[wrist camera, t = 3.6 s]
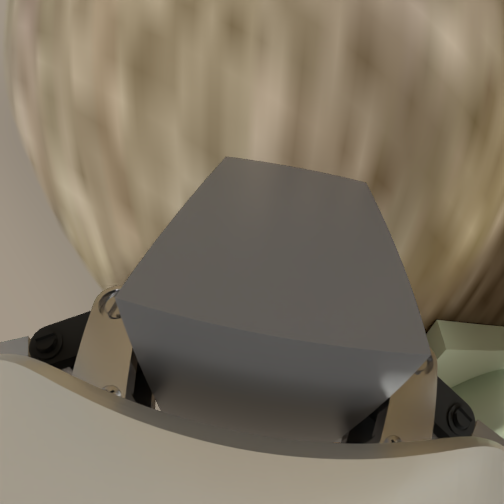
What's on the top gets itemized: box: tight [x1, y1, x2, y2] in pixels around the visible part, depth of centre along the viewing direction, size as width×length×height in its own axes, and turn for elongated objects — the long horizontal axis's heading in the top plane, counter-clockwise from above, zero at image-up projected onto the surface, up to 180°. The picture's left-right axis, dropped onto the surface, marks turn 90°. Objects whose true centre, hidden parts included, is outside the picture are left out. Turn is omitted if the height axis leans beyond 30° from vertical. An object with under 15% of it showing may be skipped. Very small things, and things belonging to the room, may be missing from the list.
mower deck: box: [335, 320, 504, 443], centre depth 14 cm, size 22×14×6 cm, turn 84°
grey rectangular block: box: [115, 157, 431, 443], centre depth 8 cm, size 5×6×7 cm
